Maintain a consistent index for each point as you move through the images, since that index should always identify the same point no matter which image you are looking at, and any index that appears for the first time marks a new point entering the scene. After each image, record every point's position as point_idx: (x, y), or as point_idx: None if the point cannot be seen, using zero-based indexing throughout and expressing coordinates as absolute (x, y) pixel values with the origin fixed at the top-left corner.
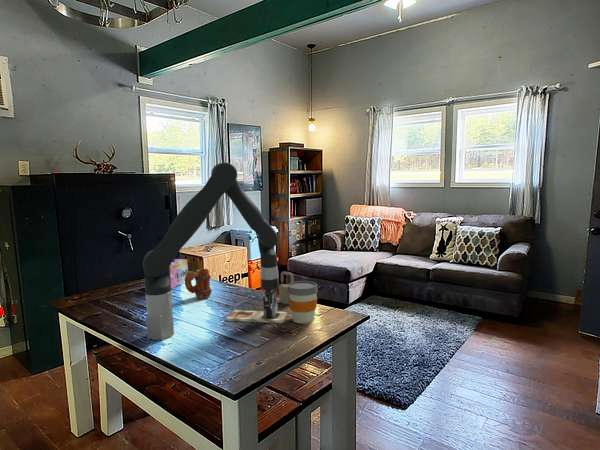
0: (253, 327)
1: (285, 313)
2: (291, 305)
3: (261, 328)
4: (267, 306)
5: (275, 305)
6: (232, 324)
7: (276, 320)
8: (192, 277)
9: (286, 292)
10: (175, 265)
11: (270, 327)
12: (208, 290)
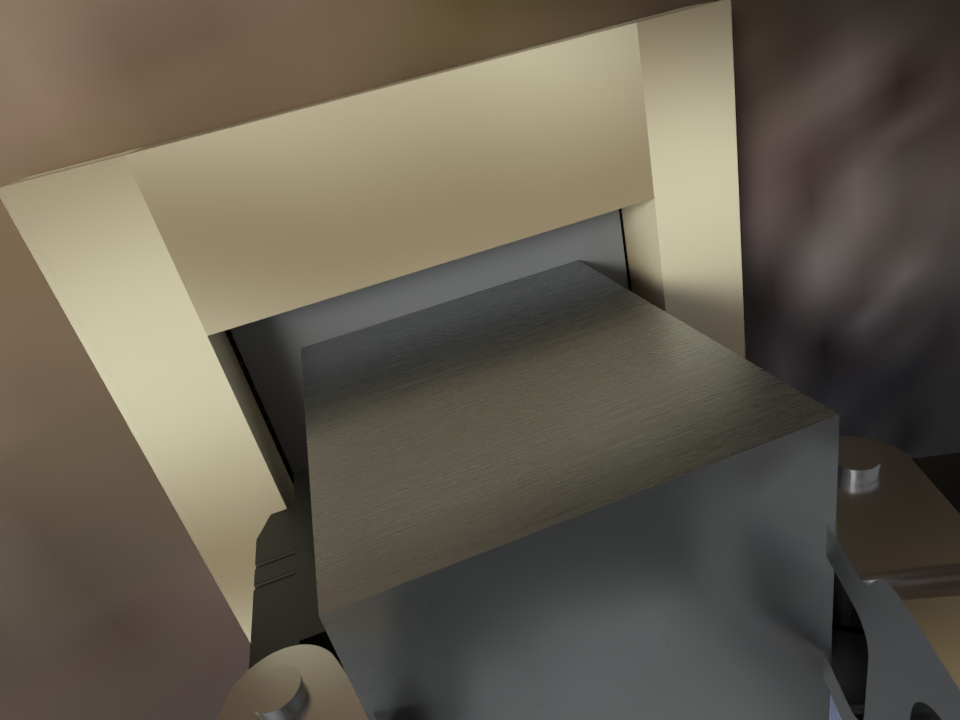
0: (914, 433)
1: (166, 170)
2: None
3: (951, 295)
4: (828, 637)
5: (713, 467)
6: (830, 711)
7: (735, 163)
8: None
9: None
10: None
11: (912, 162)
12: None
